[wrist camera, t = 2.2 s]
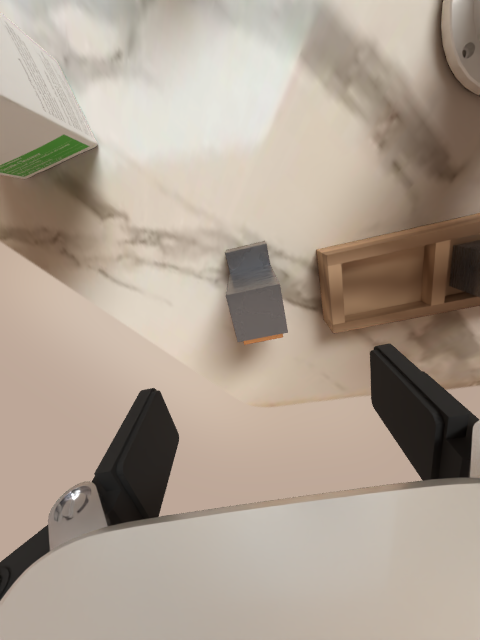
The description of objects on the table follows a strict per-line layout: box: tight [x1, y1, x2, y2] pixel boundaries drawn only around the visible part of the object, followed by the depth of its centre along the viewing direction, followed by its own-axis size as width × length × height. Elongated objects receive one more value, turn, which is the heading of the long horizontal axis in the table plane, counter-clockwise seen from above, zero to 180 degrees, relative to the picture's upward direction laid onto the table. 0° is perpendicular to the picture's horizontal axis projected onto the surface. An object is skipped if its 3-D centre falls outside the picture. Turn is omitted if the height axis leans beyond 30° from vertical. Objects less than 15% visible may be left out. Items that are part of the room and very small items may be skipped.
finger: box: [225, 241, 288, 345], centre depth 23 cm, size 4×7×9 cm, turn 13°
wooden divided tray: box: [317, 213, 480, 333], centre depth 25 cm, size 8×20×4 cm, turn 103°
